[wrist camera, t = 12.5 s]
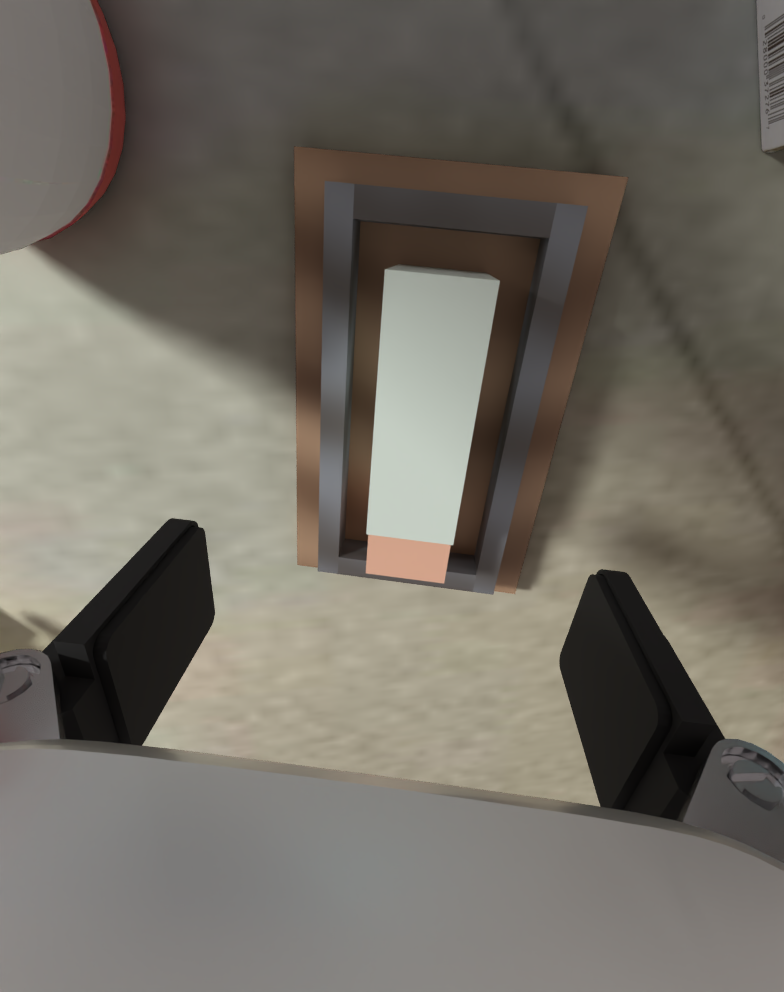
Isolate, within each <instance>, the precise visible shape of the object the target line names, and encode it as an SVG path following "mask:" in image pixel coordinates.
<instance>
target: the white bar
mask: <svg viewBox="0 0 784 992" xmlns="http://www.w3.org/2000/svg"><path fill="white" fill-rule="evenodd" d="M499 283H500V280H498V279H496V278H494V277H493V276H491V275H489V274H487V273H483V272H473V271H462V270H452V269H442V268H432V267H422V266H412V265H402V264H399V265H396V266H393V267H390V268H387V269H385V274H384V288H383V303H382V317H381V331H380V345H379V360H378V374H377V388H376V402H375V416H374V431H373V445H372V459H371V473H370V488H369V502H368V516H367V530H366V534H368V547H367V561H366V573H367V574H375V575H382V576H390V577H398V578H405V579H413V580H421V581H428V582H436V583H444V581H445V576H446V570H447V564H448V558H449V553H450V547H451V545H453V543H454V538H455V532H456V526H457V521H458V515H459V510H460V504H461V498H462V493H463V487H464V481H465V476H466V470H467V464H468V459H469V453H470V447H471V442H472V436H473V430H474V425H475V419H476V413H477V408H478V402H479V396H480V391H481V385H482V380H483V374H484V368H485V363H486V357H487V351H488V346H489V340H490V334H491V329H492V323H493V317H494V312H495V306H496V300H497V295H498V289H499Z"/></svg>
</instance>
